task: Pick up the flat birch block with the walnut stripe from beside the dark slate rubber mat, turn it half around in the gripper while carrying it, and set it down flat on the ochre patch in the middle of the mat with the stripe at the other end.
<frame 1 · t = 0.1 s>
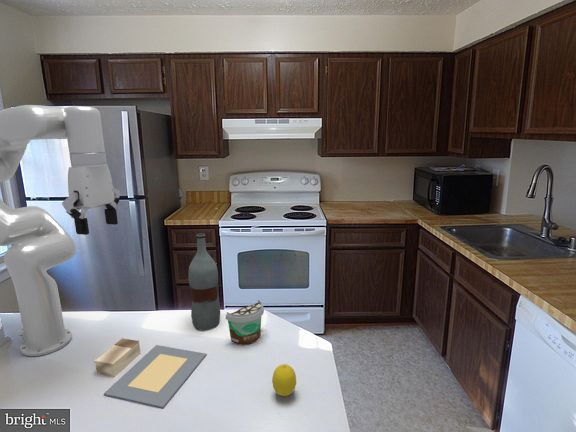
hand: (98, 228, 88), 37 cm above the kitchen counter, tool pointing down, fingers open, 9 cm apart
food container: (250, 340, 104), on the kitchen counter
birch block: (119, 363, 94), on the kitchen counter
lemon: (284, 395, 82), on the kitchen counter
mat: (159, 373, 89), on the kitchen counter
bottle: (206, 324, 113), on the kitchen counter
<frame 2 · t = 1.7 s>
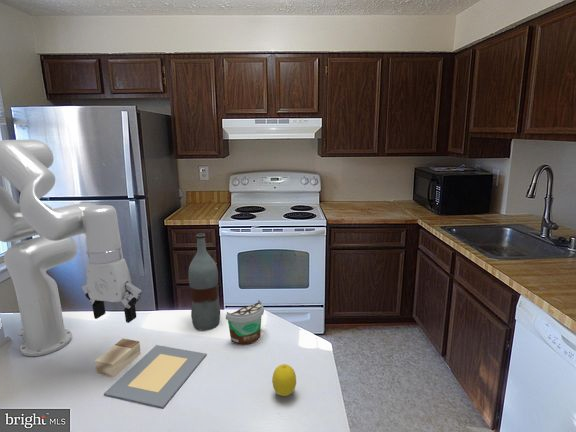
hand: (115, 318, 90), 13 cm above the kitchen counter, tool pointing down, fingers open, 9 cm apart
nothing on the kitchen counter moved.
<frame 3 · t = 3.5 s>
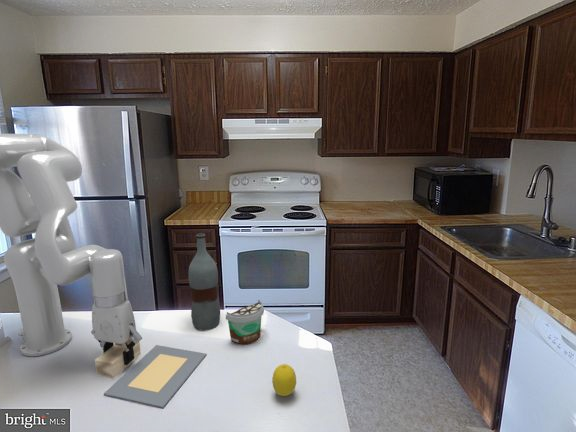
hand: (119, 359, 93), 1 cm above the kitchen counter, tool pointing down, fingers closed on birch block, 5 cm apart
birch block: (119, 363, 93), on the kitchen counter, touching gripper
everything else where it was.
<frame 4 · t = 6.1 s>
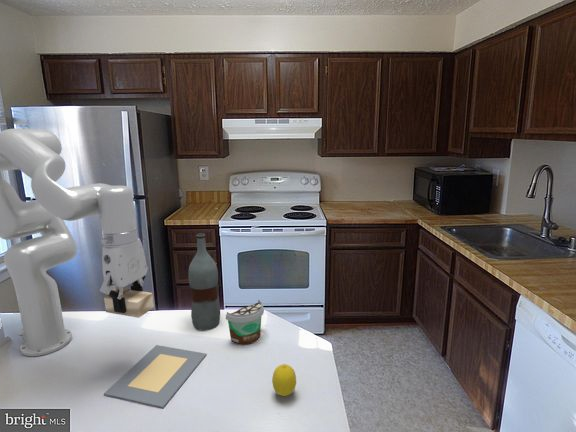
hand: (129, 305, 88), 18 cm above the kitchen counter, tool pointing down, fingers closed on birch block, 5 cm apart
birch block: (130, 309, 88), point 16 cm above the kitchen counter, touching gripper
everything else where it was.
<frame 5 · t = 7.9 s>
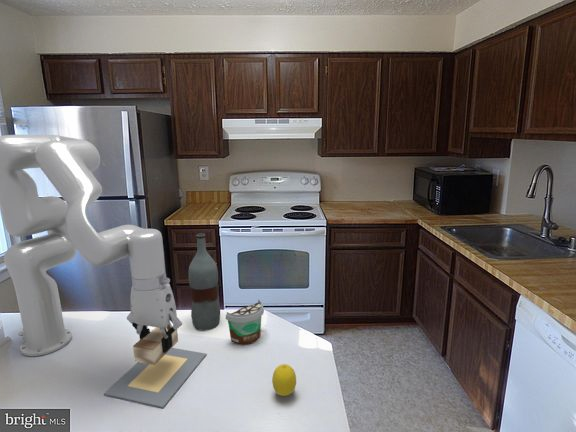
hand: (156, 347, 87), 8 cm above the kitchen counter, tool pointing down, fingers closed on birch block, 5 cm apart
birch block: (157, 350, 88), point 6 cm above the kitchen counter, touching gripper
everything else where it was.
when the fingers open (3 cm above the kitchen counter, at t = 9.1 s): birch block drops 1 cm, resting on mat.
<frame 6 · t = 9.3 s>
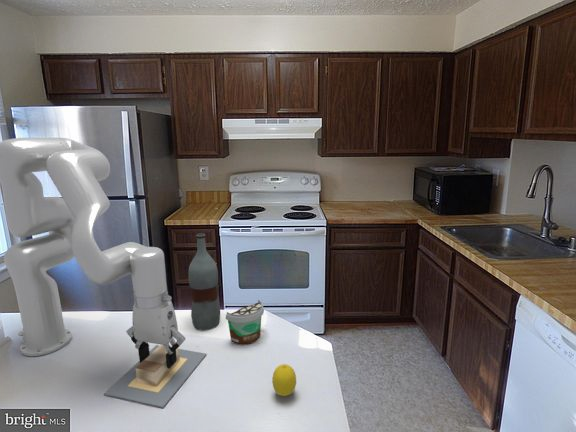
hand: (158, 361, 88), 3 cm above the kitchen counter, tool pointing down, fingers open, 7 cm apart
birch block: (159, 371, 89), point 1 cm above the kitchen counter, touching mat
everything else where it was.
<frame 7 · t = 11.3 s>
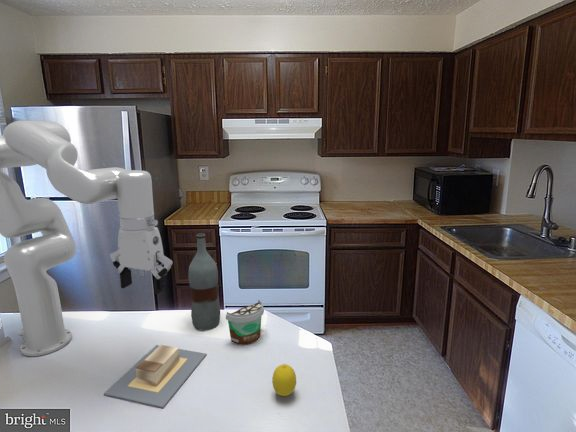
hand: (142, 288, 87), 22 cm above the kitchen counter, tool pointing down, fingers open, 9 cm apart
nothing on the kitchen counter moved.
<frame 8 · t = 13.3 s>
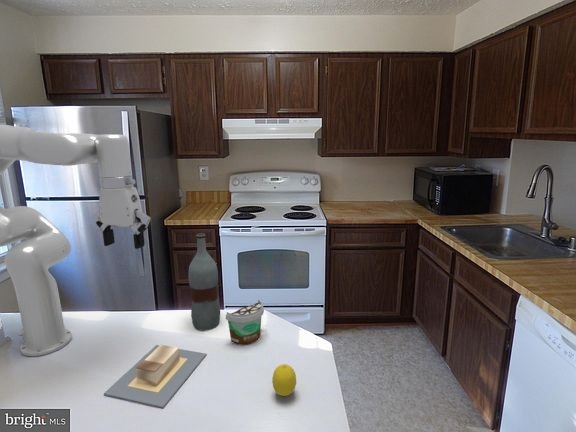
hand: (124, 245, 94), 30 cm above the kitchen counter, tool pointing down, fingers open, 9 cm apart
nothing on the kitchen counter moved.
at the end: birch block inside the target area on the mat (0.1 cm from its centre), point 0.6 cm above the mat's base; birch block tilted 0°; the gripper is holding nothing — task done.
